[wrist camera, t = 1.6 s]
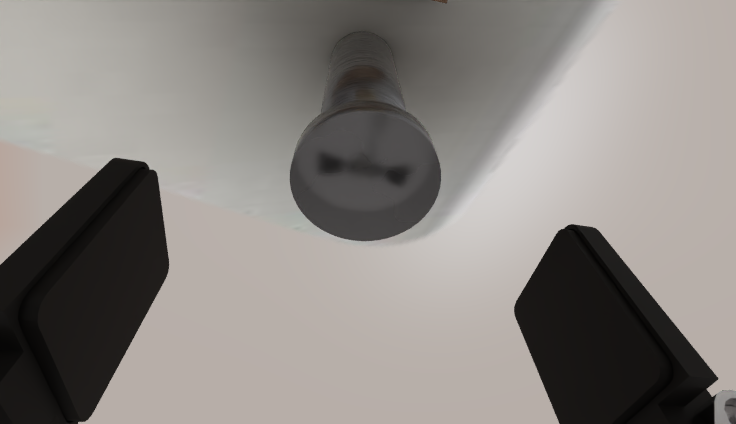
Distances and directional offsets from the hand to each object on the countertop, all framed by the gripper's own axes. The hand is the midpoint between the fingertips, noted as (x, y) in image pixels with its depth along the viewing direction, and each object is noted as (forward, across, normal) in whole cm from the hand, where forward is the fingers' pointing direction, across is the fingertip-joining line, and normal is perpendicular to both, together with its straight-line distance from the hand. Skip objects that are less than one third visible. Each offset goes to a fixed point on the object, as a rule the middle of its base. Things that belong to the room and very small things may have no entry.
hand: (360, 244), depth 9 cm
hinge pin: (+12, 0, -1) cm, 12 cm away
